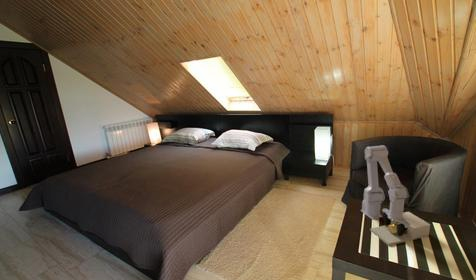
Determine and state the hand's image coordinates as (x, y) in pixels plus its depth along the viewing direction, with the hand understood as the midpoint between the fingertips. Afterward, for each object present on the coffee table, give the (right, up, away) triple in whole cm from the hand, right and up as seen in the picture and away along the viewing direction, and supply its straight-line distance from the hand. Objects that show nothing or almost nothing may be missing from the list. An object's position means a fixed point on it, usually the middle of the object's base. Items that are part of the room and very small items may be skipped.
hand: (393, 230), depth 115 cm
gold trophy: (+5, 0, +1) cm, 5 cm away
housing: (+3, -2, +1) cm, 4 cm away
